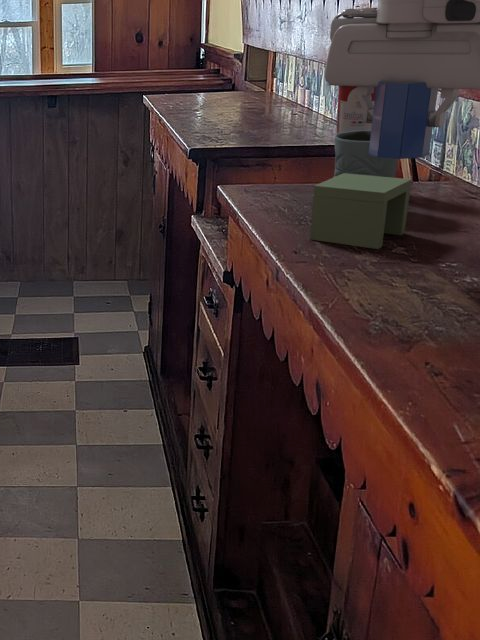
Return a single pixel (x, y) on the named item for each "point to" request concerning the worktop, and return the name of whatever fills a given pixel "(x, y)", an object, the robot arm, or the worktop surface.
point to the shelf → (359, 209)
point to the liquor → (351, 110)
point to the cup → (402, 120)
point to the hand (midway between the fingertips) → (402, 124)
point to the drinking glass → (360, 156)
